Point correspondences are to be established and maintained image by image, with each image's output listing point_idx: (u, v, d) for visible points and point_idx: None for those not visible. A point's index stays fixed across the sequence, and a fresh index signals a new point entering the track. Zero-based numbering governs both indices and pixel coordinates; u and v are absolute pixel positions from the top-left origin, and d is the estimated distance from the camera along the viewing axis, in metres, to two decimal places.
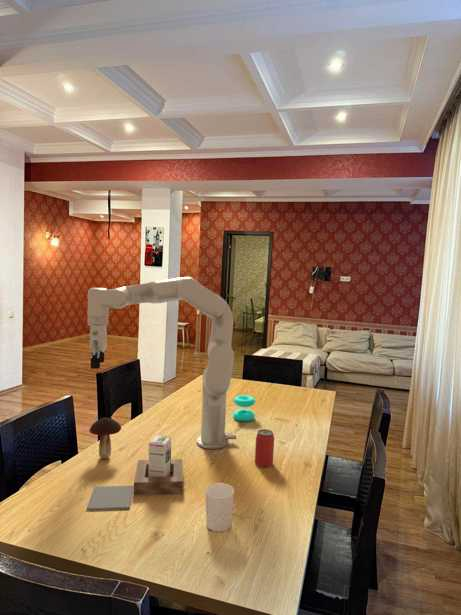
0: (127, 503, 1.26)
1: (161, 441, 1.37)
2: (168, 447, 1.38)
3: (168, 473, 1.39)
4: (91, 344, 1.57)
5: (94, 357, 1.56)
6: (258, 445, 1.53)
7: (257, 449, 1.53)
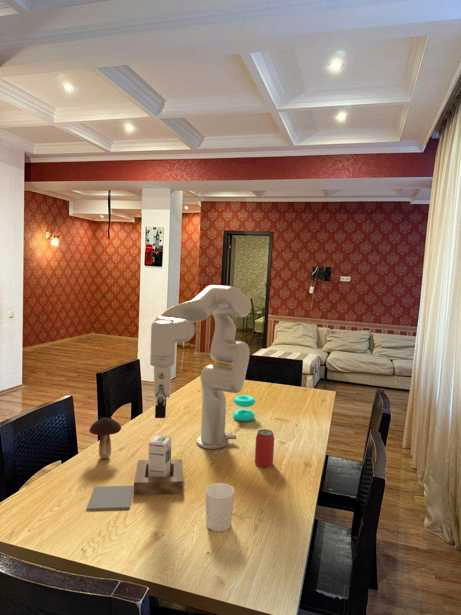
0: (127, 503, 1.26)
1: (161, 441, 1.37)
2: (168, 447, 1.38)
3: (168, 473, 1.39)
4: (156, 389, 1.31)
5: (160, 405, 1.31)
6: (258, 445, 1.53)
7: (257, 449, 1.53)
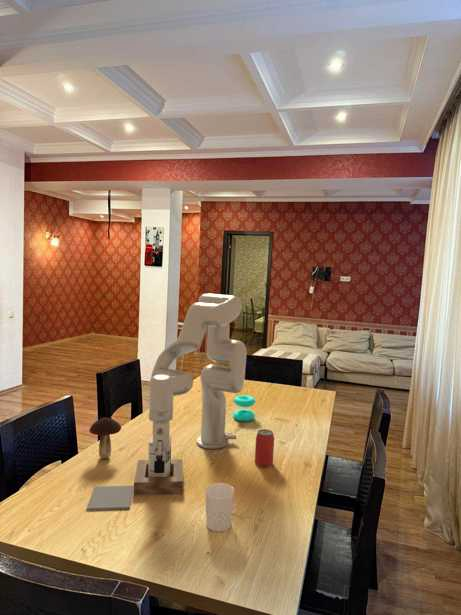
0: (127, 503, 1.26)
1: None
2: None
3: (168, 473, 1.39)
4: (155, 444, 1.33)
5: (159, 461, 1.34)
6: (258, 445, 1.53)
7: (257, 449, 1.53)
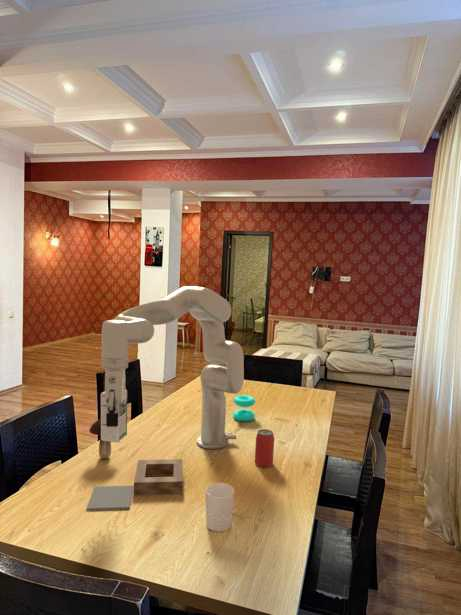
0: (127, 503, 1.26)
1: None
2: None
3: (123, 428, 1.27)
4: (107, 394, 1.21)
5: (111, 412, 1.21)
6: (258, 445, 1.53)
7: (257, 449, 1.53)
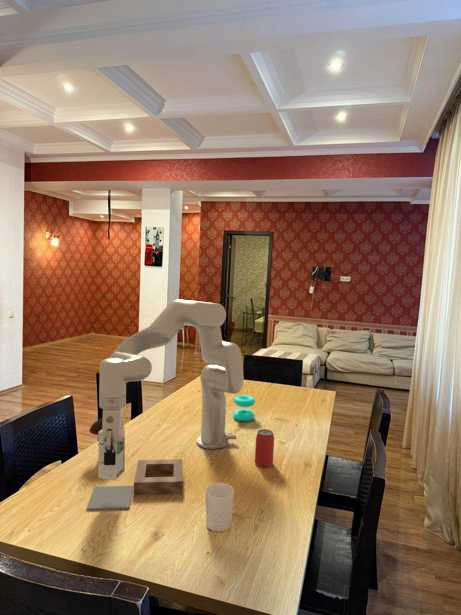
0: (127, 503, 1.26)
1: None
2: None
3: (121, 465, 1.28)
4: (104, 434, 1.22)
5: (108, 452, 1.22)
6: (258, 445, 1.53)
7: (257, 449, 1.53)
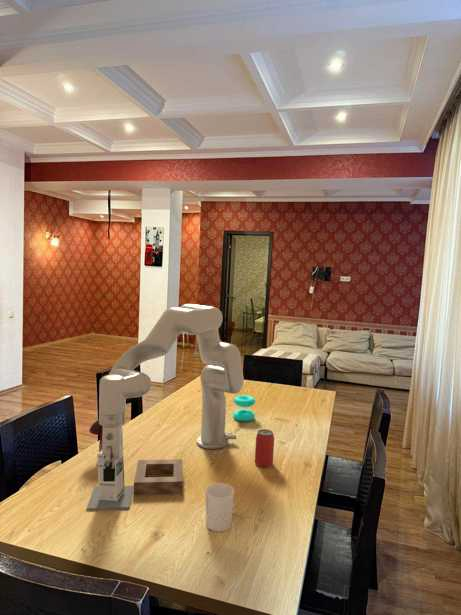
0: (127, 503, 1.26)
1: None
2: (119, 458, 1.27)
3: (121, 485, 1.29)
4: (104, 451, 1.22)
5: (108, 468, 1.22)
6: (258, 445, 1.53)
7: (257, 449, 1.53)
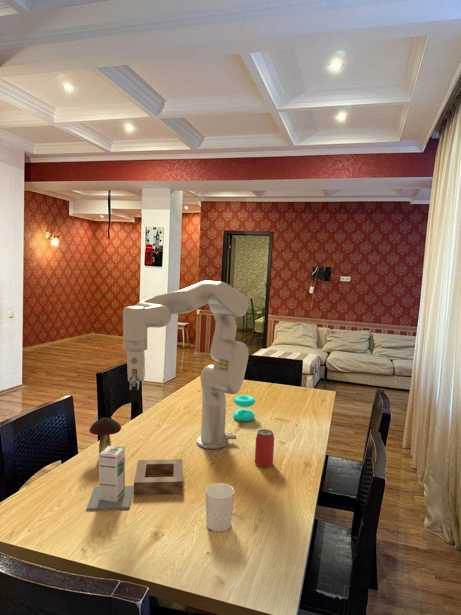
0: (127, 503, 1.26)
1: (113, 452, 1.26)
2: (120, 458, 1.27)
3: (121, 486, 1.29)
4: (129, 373, 1.33)
5: (133, 389, 1.33)
6: (258, 445, 1.53)
7: (257, 449, 1.53)
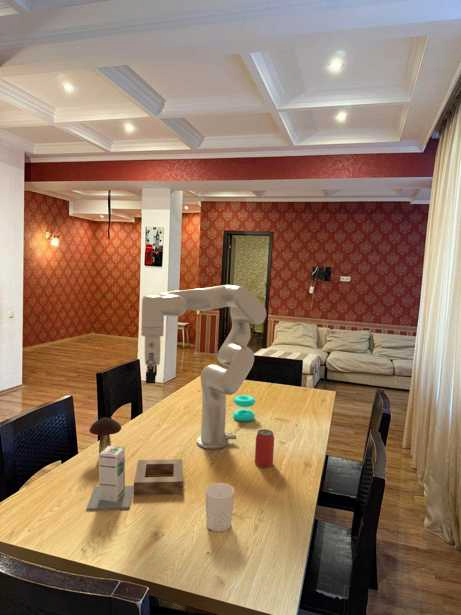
0: (127, 503, 1.26)
1: (113, 452, 1.26)
2: (120, 458, 1.27)
3: (121, 486, 1.29)
4: (146, 357, 1.44)
5: (150, 371, 1.43)
6: (258, 445, 1.53)
7: (257, 449, 1.53)
